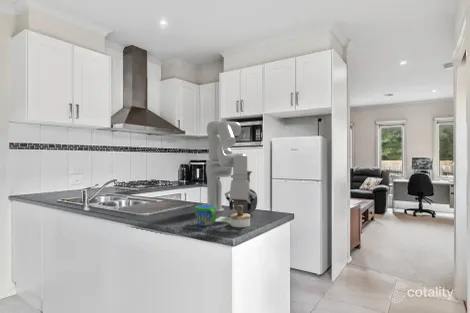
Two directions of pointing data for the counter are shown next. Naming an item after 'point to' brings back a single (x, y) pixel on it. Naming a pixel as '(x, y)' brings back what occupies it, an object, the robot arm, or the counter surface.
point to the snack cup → (205, 214)
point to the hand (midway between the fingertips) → (240, 209)
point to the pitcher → (245, 202)
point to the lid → (240, 214)
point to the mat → (223, 219)
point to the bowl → (239, 222)
